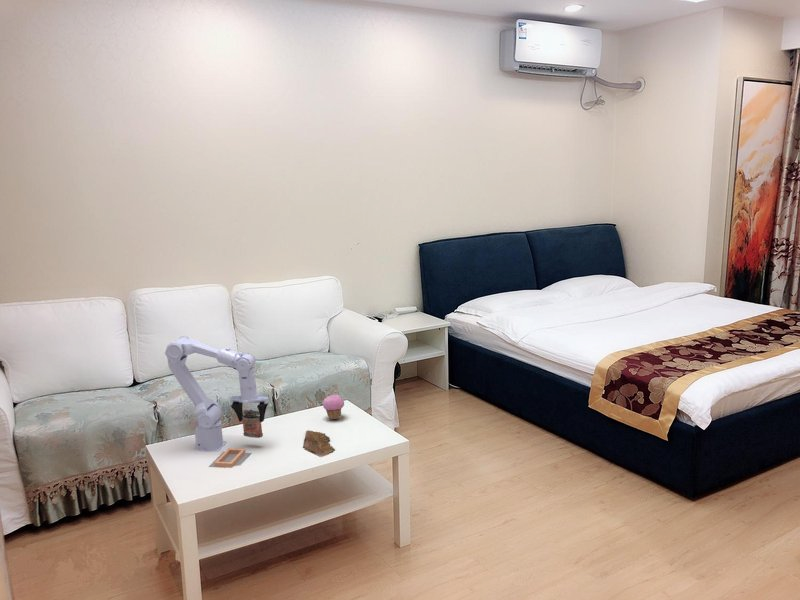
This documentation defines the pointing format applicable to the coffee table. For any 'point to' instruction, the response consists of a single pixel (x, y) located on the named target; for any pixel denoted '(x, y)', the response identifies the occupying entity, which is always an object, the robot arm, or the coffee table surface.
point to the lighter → (252, 424)
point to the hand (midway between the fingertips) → (251, 420)
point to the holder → (231, 458)
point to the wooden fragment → (317, 443)
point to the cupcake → (333, 406)
